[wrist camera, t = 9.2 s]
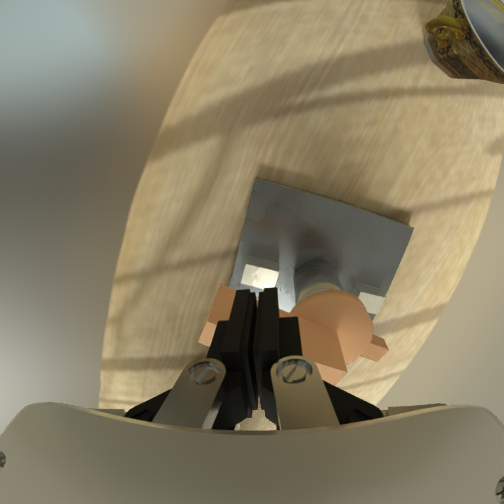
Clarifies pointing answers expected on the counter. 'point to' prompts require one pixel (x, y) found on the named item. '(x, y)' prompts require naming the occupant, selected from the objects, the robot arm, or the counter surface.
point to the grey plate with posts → (316, 247)
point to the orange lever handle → (318, 329)
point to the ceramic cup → (469, 40)
